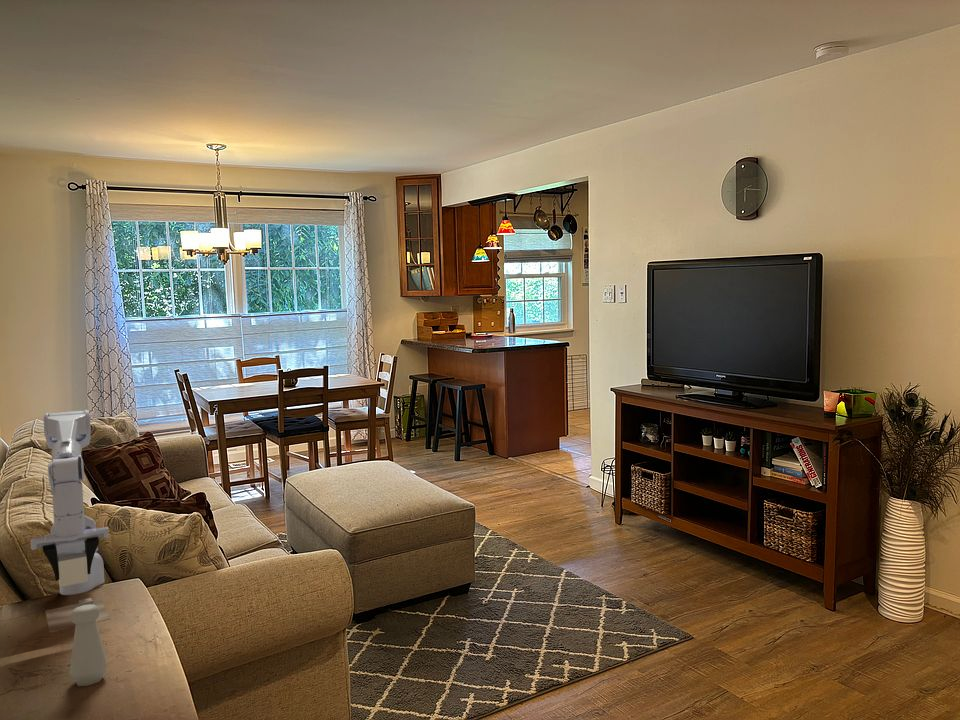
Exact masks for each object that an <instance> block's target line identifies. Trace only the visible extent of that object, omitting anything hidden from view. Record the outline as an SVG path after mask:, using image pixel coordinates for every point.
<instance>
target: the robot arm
mask: <svg viewBox="0 0 960 720" xmlns="http://www.w3.org/2000/svg"><path fill="white" fill-rule="evenodd" d="M91 426H92V425H91V413H90V411H89V410H88V409H84V410H74V411H61V412H45V414H44V415H43V432H44V438H45V442H46V443H45V444H46V445H47V448H48V449H50V450H51V461H50V462H48V464H47V473H48V474H47V476H48V482H49V487H50V493H51V496H52V510H53V511H52V512H53V524H52V525H51V528H50V535H46V536H45V535H44V536H41V537H36V538H30V549H31V551H34V550H38V549H42V552H43V554H44V556H45V557H46V559H47V561H48V562H49V564H50V566H51V567H52V571H53V574H54V578H55V581H58V580H59V570H58V562H57V553H63V552H69V551H74V550H80V549H84V550H85V552H86V557H87V572H88V582H83V583H78V584H73V585H68V586H63V587H60V585H59V584H58V585H59V594H60V595H62V596H73V595H74V596H75V595H79V594H82V593H87V592H89V591H91V590H93V589H94V588H96V587H98V586H100V585H102V584H103V585H104V584H105V581H106V580H105V571H104V570H105V567H104V560H103V557H102V556H101V555H100V554H99V552H98V550H99V545H100V539H101V538H103V539H106V538H109V537H110V535H109V527H107V526H104V527H98V528H97V524H96V523H97V522H96V521H95V519H93V518H91V517H89V516H87V515H85V508H84V505H85V504H84V492H83V491H84V490H83V483H84V481H85V480H84V479H85V468H84V460H83V456H82V451H83V449H84V448H85V447H87V446H89V445H90V444H91V442H90V441H91V440H92V438H91V437H92V436H91V434H92V428H91Z"/></svg>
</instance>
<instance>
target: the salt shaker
mask: <svg viewBox="0 0 960 720" xmlns="http://www.w3.org/2000/svg"><path fill="white" fill-rule="evenodd" d="M98 617H99V607H98V606H96V605H93V604H88V605H83V606H80V607H77V608H75V609H74V610H73V611H72V614H71V620H72V622H73V623H74V624H76V627H74V635H73V643H72V650H71V659H70V666H69V671H68V672H69V675H70V677H71V678H72V680H73V681H74V682H75V684H76V685H77V687H85V686H87V687H88V686H89V687H90V686H91V685H94V684H96V683H99V682H101V680H102V679H103V677H104V674H105V672H106V669H107V665H108V660H107V657H106V656H107V655H106V652H105V648H104V644H103V641H102V637H101V634H100V630H99V625H98V622H97V621H96V619H97V618H98Z"/></svg>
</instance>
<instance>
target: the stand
mask: <svg viewBox="0 0 960 720" xmlns="http://www.w3.org/2000/svg"><path fill="white" fill-rule="evenodd" d="M88 604H93V605H96V606H98V607H99V617H98V618H97V619H96V621H97V623H100V622H103V621H108V620H111V617H110V615H109V614H108V611H107V608H106V607H105V604H104V602H103V600H102V599H101V598H99V599H92V597H89V598H83V599H79V600H78V603H76V604H75V603H74V604H70V605H65V606H61V607H57V608H55V607H54V608H52V609H47V610H44V611H45V612H44V613H45V617H46V622H47V626H48V632H49V634H52V633H56V632H60V631H64V630H69V629H73V628H74V629H75V627H76V624H74V623H73V622H72V620H71V614H72V611H73V610H74V609H75V608H77V607H80V606H83V605H88Z"/></svg>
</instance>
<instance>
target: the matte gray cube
mask: <svg viewBox="0 0 960 720" xmlns="http://www.w3.org/2000/svg"><path fill="white" fill-rule="evenodd" d="M57 562H58V570H59V580H57V581H58V585H60V586H59V588H60V587H63V586H68V585H73V584H78V583H83V582H88V572H87V557H86V552H85V550H84V549H80V550H74V551H69V552H63V553H57Z"/></svg>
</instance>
